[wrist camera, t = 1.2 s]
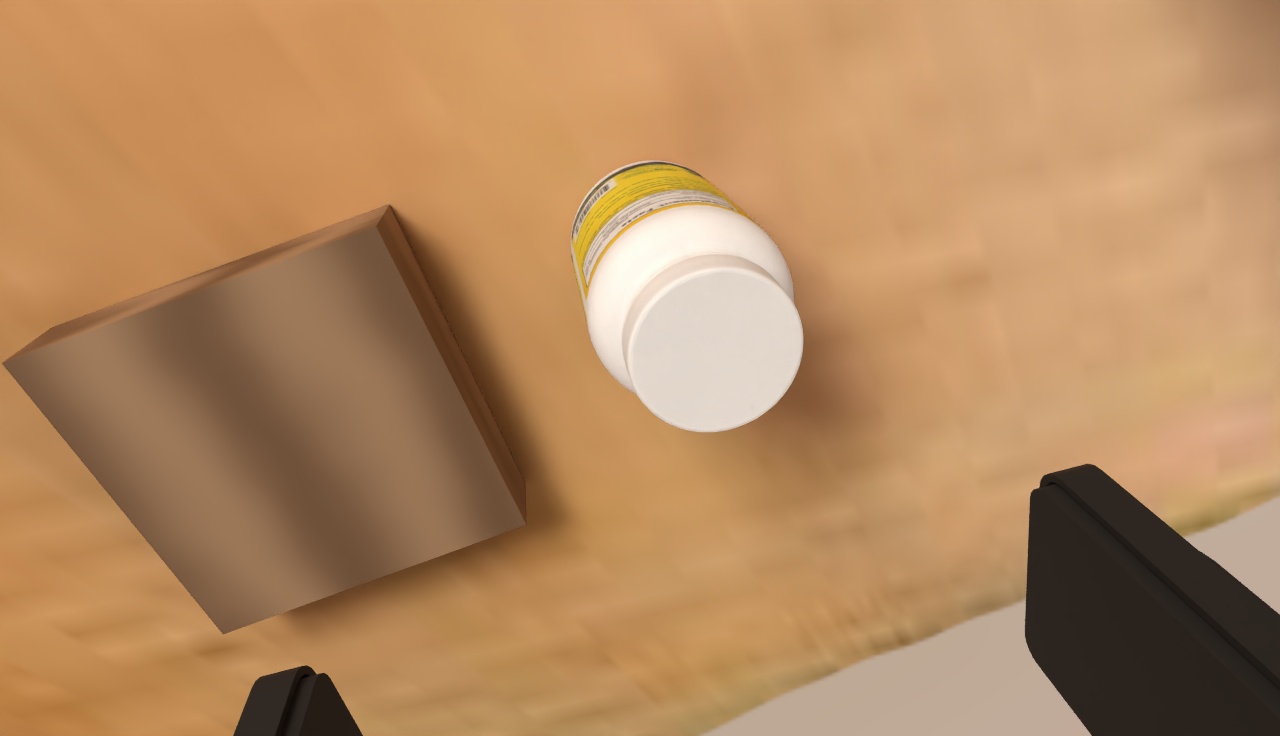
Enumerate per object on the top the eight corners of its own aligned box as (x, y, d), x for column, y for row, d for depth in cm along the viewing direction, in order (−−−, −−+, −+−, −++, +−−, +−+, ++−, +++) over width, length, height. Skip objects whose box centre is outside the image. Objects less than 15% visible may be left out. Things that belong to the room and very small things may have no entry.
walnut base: (389, 204, 28) (376, 226, 25) (525, 482, 33) (526, 525, 31) (51, 327, 28) (2, 363, 25) (246, 583, 34) (223, 634, 31)
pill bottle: (721, 311, 31) (817, 454, 21) (569, 314, 30) (596, 465, 20) (734, 156, 29) (850, 238, 19) (568, 154, 28) (598, 240, 18)
